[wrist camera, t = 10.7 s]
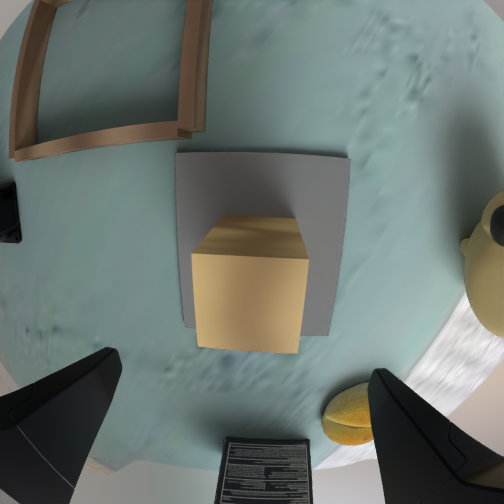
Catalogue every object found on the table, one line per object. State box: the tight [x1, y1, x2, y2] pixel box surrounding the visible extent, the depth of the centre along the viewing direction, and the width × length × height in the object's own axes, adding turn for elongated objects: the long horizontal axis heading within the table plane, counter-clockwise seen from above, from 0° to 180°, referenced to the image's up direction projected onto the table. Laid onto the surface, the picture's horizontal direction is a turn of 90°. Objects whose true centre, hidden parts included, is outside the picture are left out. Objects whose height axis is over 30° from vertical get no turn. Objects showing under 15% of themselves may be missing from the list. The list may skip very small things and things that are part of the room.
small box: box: [214, 437, 313, 504], centre depth 25 cm, size 11×6×10 cm, turn 90°
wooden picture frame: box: [9, 0, 213, 162], centre depth 15 cm, size 18×18×3 cm
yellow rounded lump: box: [321, 382, 373, 445], centre depth 24 cm, size 8×9×4 cm
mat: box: [175, 152, 351, 336], centre depth 21 cm, size 12×14×1 cm
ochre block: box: [191, 215, 309, 353], centre depth 16 cm, size 5×5×8 cm
